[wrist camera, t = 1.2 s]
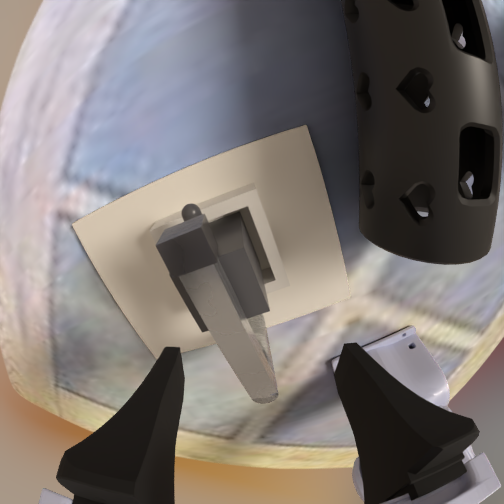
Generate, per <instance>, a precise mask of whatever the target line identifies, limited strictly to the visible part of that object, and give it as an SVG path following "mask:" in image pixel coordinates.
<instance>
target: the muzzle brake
mask: <svg viewBox="0 0 504 504" xmlns="http://www.w3.org/2000/svg"><path fill="white" fill-rule="evenodd" d="M341 4H342V9H343V14H344V19H345V24H346V30H347V36H348V42H349V49H350V56H351V63H352V71H353V80H354V89H355V100H356V112H357V126H358V145H359V229H360V232H361V233H362V234H363V235H364V236H365V237H366V238H367V239H368V240H369V241H371V242H372V243H373V244H375V245H376V246H378V247H380V248H382V249H384V250H386V251H388V252H391V253H393V254H396V255H398V256H401V257H405V258H408V259H412V260H416V261H421V262H426V263H434V264H444V265H447V264H464V263H470V262H473V261H476V260H479V259H481V258H482V257H484V256H485V255H487V254H488V252H489V250H490V248H491V243H492V238H493V233H494V228H495V222H496V215H497V209H498V201H499V192H500V182H501V169H502V108H501V95H500V85H499V77H498V70H497V63H496V58H495V52H494V47H493V42H492V38H491V33H490V29H489V25H488V21H487V18H486V14H485V11H484V7H483V4H482V1H481V0H341ZM462 32H463V37H464V38H465V41H466V46H465V47H463V46H462V45H461V44H460V43H459V42H458V40H459V38H460V36H461V34H462ZM428 98H430V104H429V106H428V107H426V106H425V104H424V103H425V101H426V100H427V99H428ZM472 174H473V176H474V182H473V185H472V186H471V187H472V192H473V195H472V194H471V191H470V189H469V187H468V185H467V183H466V181H467V180H468V179H469V178H470V177H471V175H472ZM417 211H421V212H428V213H429V214H428V216H427V217H422V216H420V215H419V214H418V213H417Z"/></svg>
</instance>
